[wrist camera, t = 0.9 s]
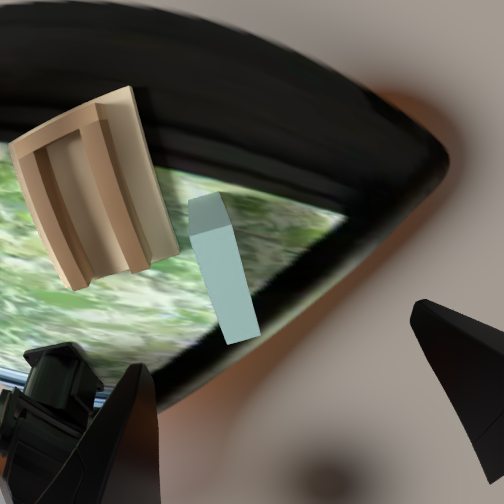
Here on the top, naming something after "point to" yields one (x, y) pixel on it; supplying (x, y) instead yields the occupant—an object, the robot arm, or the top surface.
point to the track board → (94, 191)
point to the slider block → (221, 267)
